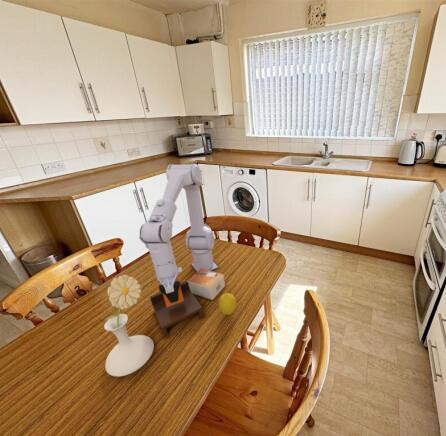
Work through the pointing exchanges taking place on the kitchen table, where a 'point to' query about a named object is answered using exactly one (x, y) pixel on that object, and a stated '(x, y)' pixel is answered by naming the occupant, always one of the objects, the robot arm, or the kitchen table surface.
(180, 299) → the package
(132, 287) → the flower in vase
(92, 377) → the kitchen table surface
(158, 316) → the toy bench
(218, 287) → the small box
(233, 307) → the lemon
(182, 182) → the robot arm
